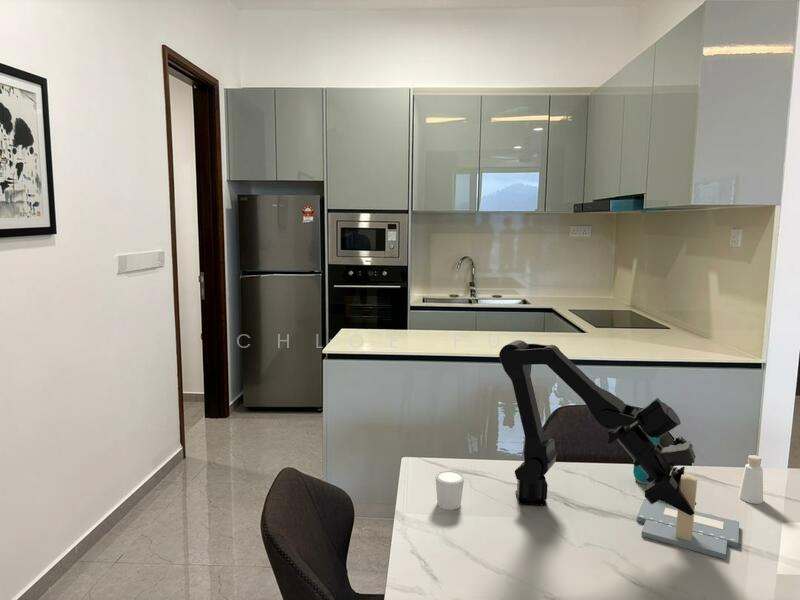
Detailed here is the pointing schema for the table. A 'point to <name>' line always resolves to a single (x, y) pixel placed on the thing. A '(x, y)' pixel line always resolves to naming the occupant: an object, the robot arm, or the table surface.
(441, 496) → the shot glass
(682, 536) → the grey slab with post
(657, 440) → the beverage can
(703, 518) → the board
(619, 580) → the table surface
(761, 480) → the pepper shaker
